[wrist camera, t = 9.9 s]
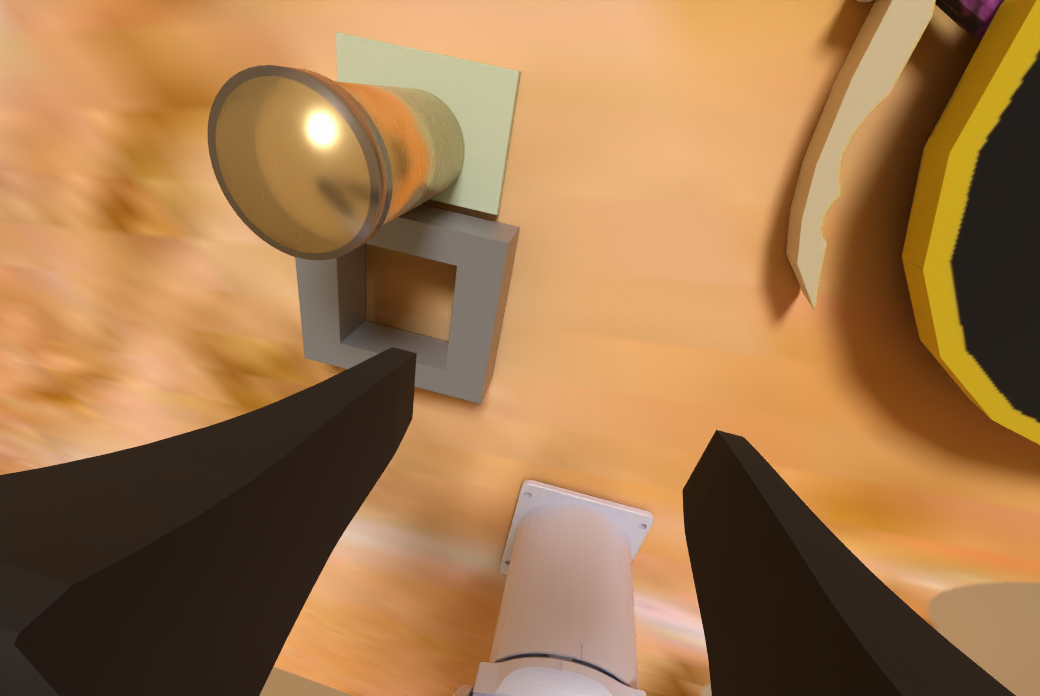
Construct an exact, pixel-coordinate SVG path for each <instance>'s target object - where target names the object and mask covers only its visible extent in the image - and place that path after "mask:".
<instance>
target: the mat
mask: <svg viewBox="0 0 1040 696" xmlns="http://www.w3.org/2000/svg"><path fill="white" fill-rule="evenodd" d="M336 51H337V81H338V82H346V83H358V84H369V85H381V86H392V87H404V88H415V89H421V90H424V91H427V92H429V93H432V94H433V95H435V96H437V97H438V98H440V99H441V100H442V101H443V102H444V103H445V104H446V105H447V106H448V107H449V108H450V109H451V111H452V112H453V113H454V115H455V117H456V118H457V120H458V122H459V125H460V127H461V130H462V133H463V137H464V144H465V157H464V163H463V167H462V170H461V172H460V175H459V177H458V178H457V180H456V181H455V183H454V184H453V185H452V186H451V187H450V188H449V189H448V190H446V191H445V192H443V193H442V194H440V195H438V196H436V197H434V198H432V199H430V200H435V201H439V202H443V203H448V204H452V205H456V206H460V207H465V208H469V209H473V210H477V211H482V212H486V213H490V214H495V215H497V214H498V213H499V210H500V203H501V197H502V190H503V184H504V177H505V171H506V164H507V158H508V152H509V145H510V139H511V132H512V126H513V119H514V113H515V106H516V100H517V93H518V87H519V81H520V74H521V72H520V71H517V70H512V69H507V68H502V67H498V66H493V65H488V64H484V63H479V62H474V61H470V60H465V59H460V58H455V57H451V56H446V55H441V54H437V53H432V52H427V51H423V50H418V49H413V48H409V47H404V46H399V45H394V44H390V43H385V42H380V41H376V40H371V39H366V38H362V37H357V36H352V35H347V34H343V33H338V32H336Z"/></svg>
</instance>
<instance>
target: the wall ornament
mask: <svg viewBox="0 0 1040 696" xmlns="http://www.w3.org/2000/svg"><path fill="white" fill-rule="evenodd" d="M857 1H858V2H870V1H873V0H857ZM935 4H936V5H937V6H938V7H939V8H940V9H941V10H942V11H944V12H945V13H946V14H947V15H948V16H949V17H950V18H951V19H952V20H953V21H955V22H956V23H957V24H958V25H959V26H960V27H961V28H963V29H964V30H966V31H967V32H968V33H970V34H971V35H972V36H974V37H975V38H976V39H978V40H979V41H980V44H979V46H978V48H977V49H976V51H975V53H974V55H973V57H972V59H971V61H970V62H969V64H968V66H967V68H966V70H965V72H964V74H963V75H962V77H961V79H960V81H959V83H958V85H957V87H956V89H955V90H954V92H953V94H952V96H951V98H950V100H949V102H948V103H947V105H946V107H945V109H944V111H943V113H942V115H941V116H940V118H939V120H938V122H937V124H936V126H935V128H934V130H933V131H932V133H931V135H930V137H929V139H928V141H927V143H926V144H925V146H924V148H923V153H922V158H921V163H920V168H919V173H918V178H917V183H916V188H915V193H914V198H913V203H912V208H911V213H910V218H909V223H908V228H907V233H906V238H905V243H904V248H903V253H902V261H903V266H904V270H905V275H906V280H907V284H908V289H909V293H910V298H911V302H912V307H913V312H914V316H915V321H916V325H917V330H918V335H919V339H920V341H921V342H922V343H923V344H924V345H925V347H926V348H927V349H928V350H929V351H930V353H931V354H932V355H933V356H934V357H935V359H936V360H937V361H938V362H939V364H940V365H941V366H942V367H943V368H944V370H945V371H946V372H947V373H948V374H949V376H950V377H951V378H952V379H953V380H954V382H955V383H956V384H957V385H958V386H959V388H960V389H961V390H962V391H963V393H964V394H965V395H966V396H967V397H968V399H969V400H970V401H972V402H973V403H974V404H975V405H976V406H977V407H978V408H979V409H980V410H981V411H983V412H984V413H985V414H986V415H987V416H988V417H989V418H990V419H991V420H992V421H994V422H996V423H998V424H1000V425H1002V426H1004V427H1006V428H1008V429H1010V430H1012V431H1014V432H1016V433H1018V434H1020V435H1021V436H1023V437H1025V438H1027V439H1029V440H1031V441H1033V442H1035V443H1037V444H1039V445H1040V0H875V2H874V4H873V6H872V8H871V10H870V12H869V14H868V16H867V18H866V20H865V22H864V24H863V26H862V28H861V30H860V32H859V34H858V36H857V38H856V40H855V42H854V44H853V46H852V48H851V49H850V51H849V53H848V55H847V57H846V59H845V61H844V63H843V65H842V67H841V69H840V71H839V73H838V75H837V77H836V79H835V81H834V84H833V86H832V89H831V91H830V94H829V96H828V99H827V101H826V104H825V106H824V109H823V111H822V114H821V116H820V119H819V121H818V124H817V126H816V129H815V131H814V134H813V136H812V139H811V141H810V144H809V146H808V149H807V151H806V154H805V156H804V159H803V161H802V165H801V169H800V173H799V177H798V181H797V185H796V189H795V193H794V197H793V201H792V205H791V209H790V215H789V226H788V236H787V247H786V255H787V257H788V260H789V262H790V264H791V266H792V269H793V271H794V273H795V276H796V278H797V280H798V282H799V285H800V287H801V289H802V292H803V294H804V295H805V297H806V298H807V300H808V301H809V303H810V305H811V306H812V308H813V309H814V311H815V307H816V301H817V295H818V289H819V283H820V277H821V271H822V265H823V261H824V256H825V251H826V247H827V242H826V240H825V237H824V235H823V233H822V227H823V221H824V218H825V216H826V213H827V211H828V209H829V208H830V207H831V205H832V204H833V202H834V201H835V200H836V199H837V198H838V197H839V196H840V195H841V185H840V177H839V174H840V168H841V163H842V157H843V154H844V152H845V150H846V148H847V146H848V144H849V142H850V140H851V138H852V136H853V134H854V133H855V132H856V130H857V129H858V128H859V126H860V125H861V124H862V122H863V121H864V120H865V118H866V117H867V116H868V115H869V113H870V112H871V111H872V110H873V109H874V108H875V107H876V106H878V105H879V104H880V103H881V102H882V101H883V100H884V99H885V98H886V97H887V96H888V95H889V94H890V92H891V91H892V89H893V87H894V85H895V83H896V82H897V80H898V78H899V76H900V74H901V72H902V71H903V69H904V67H905V65H906V63H907V62H908V60H909V58H910V56H911V54H912V52H913V51H914V49H915V47H916V45H917V43H918V42H919V40H920V38H921V36H922V34H923V32H924V31H925V29H926V27H927V25H928V23H929V22H930V20H931V18H932V16H933V13H934V7H935Z"/></svg>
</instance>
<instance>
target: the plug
mask: <svg viewBox="0 0 1040 696" xmlns="http://www.w3.org/2000/svg"><path fill="white" fill-rule="evenodd" d="M208 146H209V154H210V158H211V163H212V167H213V170H214V172H215V175H216V178H217V181H218V183H219V185H220V187H221V189H222V191H223V193H224V195H225V197H226V199H227V200H228V202H229V204H230V205H231V206H232V208H233V209H234V211H235V212H236V214H237V215H238V216H239V217H240V218H241V220H242V221H243V222H244V223H245V224H246V225H247V226H248V227H249V228H250V229H251V230H252V231H253V232H254V233H255V234H256V235H258V236H259V237H260V238H261V239H262V240H264V241H265V242H267V243H268V244H270V245H271V246H273V247H274V248H276V249H278V250H280V251H282V252H284V253H286V254H289V255H291V256H294V257H298V258H301V259H307V260H318V261H322V260H330V259H334V258H338V257H341V256H343V255H345V254H347V253H349V252H351V251H352V250H354V249H356V248H358V247H359V246H361V245H363V244H364V243H366V242H367V241H369V240H370V239H371V238H372V237H373V236H374V235H375V234H376V233H377V232H378V231H379V229H380V228H381V227H382V225H384V224H386V223H388V222H389V221H391V220H393V219H395V218H397V217H399V216H401V215H403V214H404V213H406V212H408V211H410V210H412V209H414V208H416V207H417V206H419V205H421V204H423V203H425V202H427V201H429V200H430V199H432V198H434V197H436V196H438V195H440V194H442V193H443V192H445V191H446V190H448V189H449V188H450V187H451V186H452V185H453V184H454V183H455V181H456V180H457V178H458V177H459V175H460V172H461V170H462V167H463V163H464V157H465V144H464V137H463V133H462V130H461V127H460V125H459V122H458V120H457V118H456V117H455V115H454V113H453V112H452V111H451V109H450V108H449V107H448V106H447V105H446V104H445V103H444V102H443V101H442V100H441V99H440V98H438V97H437V96H435V95H433V94H432V93H429V92H427V91H424V90H421V89H415V88H404V87H392V86H381V85H369V84H358V83H346V82H335V81H332V80H331V79H329V78H327V77H325V76H322V75H320V74H318V73H315V72H312V71H309V70H305V69H297V68H289V67H281V66H272V65H266V66H256V67H252V68H248V69H245V70H243V71H241V72H239V73H237V74H236V75H234V76H233V77H231V78H230V79H229V80H228V81H227V82H226V83H225V84H224V85H223V86H222V88H221V89H220V91H219V92H218V94H217V95H216V98H215V100H214V102H213V105H212V107H211V111H210V115H209V122H208Z"/></svg>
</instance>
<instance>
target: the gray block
mask: <svg viewBox="0 0 1040 696" xmlns="http://www.w3.org/2000/svg"><path fill="white" fill-rule="evenodd" d="M519 229H520V227H516V226H512V225H507V224H503V223H499V222H495V221H490V220H486V219H482V218H478V217H473V216H469V215H465V214H461V213H456V212H452V211H448V210H443V209H439V208H435V207H431V206H426V205H422V204H421V205H419V206H417V207H416V208H414V209H412V210H410V211H408V212H406V213H404V214H403V215H401V216H399V217H397V218H395V219H393V220H391V221H389V222H388V223H386V224H384V225H382V227H381V228H380V229H379V231H378V232H377V233H376V234H375V235H374V236H373V237H372V238H371V239H370V240H369V241H367V242H366V243H364V244H363V245H361V246H359V247H358V248H356V249H354V250H352V251H351V252H349V253H347V254H345V255H343V256H341V257H338V258H334V259H330V260H322V261H318V260H307V259H301V258H298V257H295V260H296V270H297V281H298V291H299V302H300V313H301V323H302V334H303V345H304V355H305V358H306V359H310V360H314V361H318V362H322V363H326V364H329V365H333V366H337V367H341V368H345V369H349V368H351V367H353V366H355V365H357V364H359V363H361V362H363V361H365V360H367V359H369V358H371V357H373V356H375V355H377V354H379V353H381V352H383V351H385V350H387V349H389V348H392V347H394V348H398V349H402V350H406V351H410V352H414V353H417V356H416V371H415V386H414V387H417V388H421V389H425V390H429V391H433V392H437V393H440V394H444V395H448V396H452V397H456V398H460V399H463V400H467V401H471V402H475V403H479V404H481V402H482V400H483V397H484V395H485V393H486V390H487V388H488V385H489V383H490V381H491V378H492V376H493V371H494V365H495V360H496V354H497V349H498V343H499V338H500V333H501V327H502V322H503V316H504V311H505V305H506V300H507V294H508V289H509V283H510V278H511V272H512V267H513V262H514V256H515V251H516V245H517V240H518V234H519ZM365 244H369V245H373V246H377V247H381V248H385V249H389V250H393V251H397V252H402V253H406V254H410V255H414V256H418V257H422V258H426V259H430V260H435V261H439V262H443V263H447V264H451V265H455V266H457V272H456V281H455V290H454V299H453V308H452V317H451V325H450V334H449V342H448V341H444V340H440V339H436V338H432V337H428V336H424V335H420V334H416V333H412V332H408V331H404V330H401V329H397V328H393V327H389V326H385V325H381V324H377V323H373V322H369V321H366V288H365Z"/></svg>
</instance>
